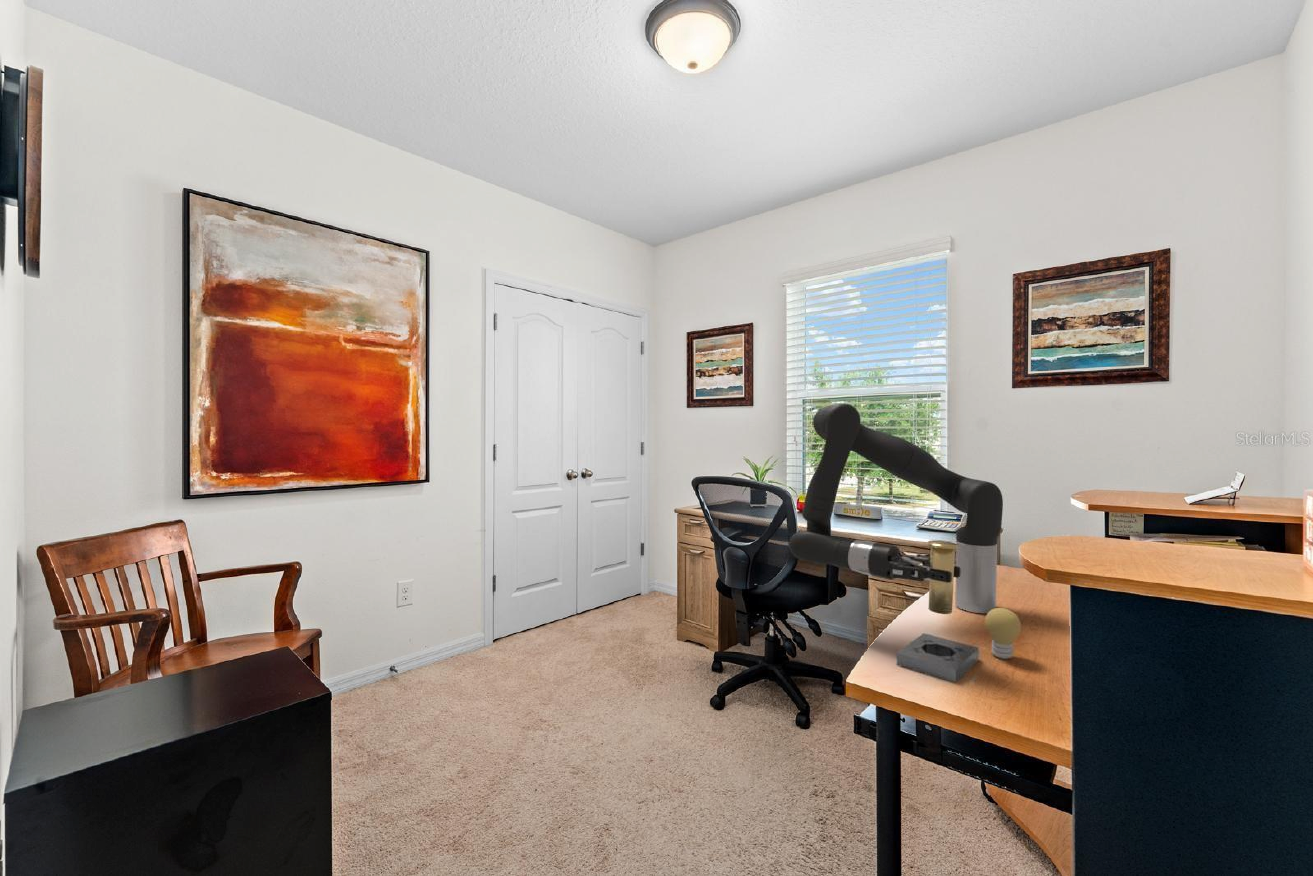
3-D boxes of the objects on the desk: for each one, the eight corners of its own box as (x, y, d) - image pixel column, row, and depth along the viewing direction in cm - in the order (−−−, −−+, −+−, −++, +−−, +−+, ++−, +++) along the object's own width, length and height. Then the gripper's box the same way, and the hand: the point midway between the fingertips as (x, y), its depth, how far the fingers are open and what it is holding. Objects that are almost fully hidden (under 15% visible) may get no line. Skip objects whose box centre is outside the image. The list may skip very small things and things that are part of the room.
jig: (923, 644, 124) (923, 633, 124) (978, 659, 116) (978, 647, 116) (896, 664, 114) (896, 652, 114) (955, 682, 106) (955, 670, 106)
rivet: (931, 603, 121) (933, 539, 120) (959, 610, 117) (962, 543, 116) (921, 609, 117) (923, 543, 116) (949, 617, 113) (952, 548, 113)
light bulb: (1020, 665, 113) (1021, 616, 113) (983, 658, 117) (984, 611, 116) (1020, 654, 119) (1020, 607, 118) (984, 647, 122) (985, 602, 122)
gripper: (859, 547, 122) (943, 563, 110) (888, 537, 132) (968, 550, 120) (858, 582, 122) (942, 601, 110) (887, 569, 132) (967, 585, 120)
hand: (955, 574), depth 115 cm, fingers closed on rivet, 4 cm apart
